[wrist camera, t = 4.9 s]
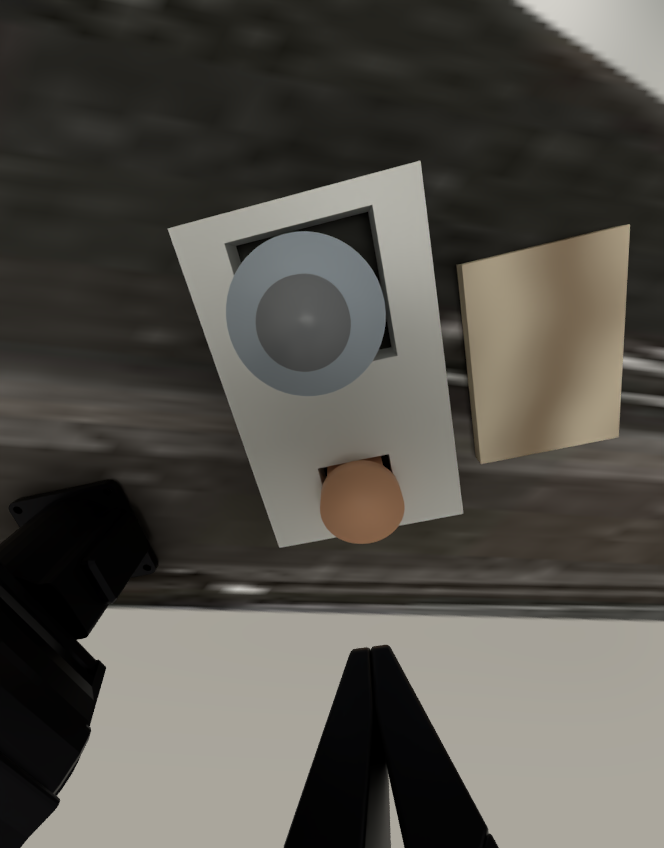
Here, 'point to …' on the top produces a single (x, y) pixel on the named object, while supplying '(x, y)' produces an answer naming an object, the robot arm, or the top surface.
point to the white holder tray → (367, 395)
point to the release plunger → (361, 501)
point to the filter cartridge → (305, 313)
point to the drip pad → (545, 343)
